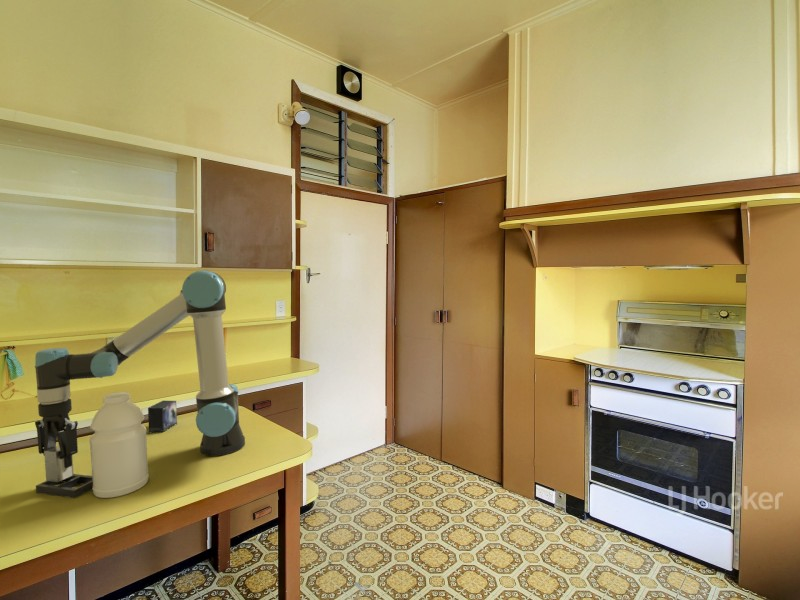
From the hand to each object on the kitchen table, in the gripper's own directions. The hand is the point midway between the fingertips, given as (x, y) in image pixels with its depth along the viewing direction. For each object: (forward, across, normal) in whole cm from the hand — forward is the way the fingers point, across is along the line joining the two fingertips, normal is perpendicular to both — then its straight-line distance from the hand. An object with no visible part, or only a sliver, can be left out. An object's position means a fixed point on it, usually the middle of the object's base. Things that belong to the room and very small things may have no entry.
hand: (59, 476), depth 121 cm
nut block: (0, 0, 0) cm, 0 cm away
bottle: (+3, -18, -4) cm, 19 cm away
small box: (+4, +9, -48) cm, 49 cm away
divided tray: (+3, -4, 0) cm, 5 cm away
